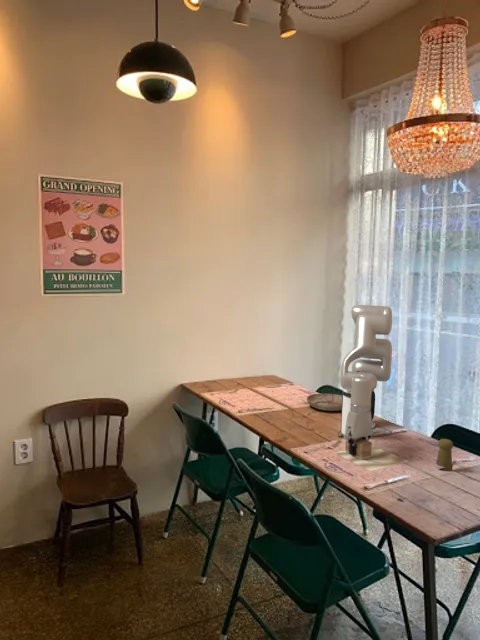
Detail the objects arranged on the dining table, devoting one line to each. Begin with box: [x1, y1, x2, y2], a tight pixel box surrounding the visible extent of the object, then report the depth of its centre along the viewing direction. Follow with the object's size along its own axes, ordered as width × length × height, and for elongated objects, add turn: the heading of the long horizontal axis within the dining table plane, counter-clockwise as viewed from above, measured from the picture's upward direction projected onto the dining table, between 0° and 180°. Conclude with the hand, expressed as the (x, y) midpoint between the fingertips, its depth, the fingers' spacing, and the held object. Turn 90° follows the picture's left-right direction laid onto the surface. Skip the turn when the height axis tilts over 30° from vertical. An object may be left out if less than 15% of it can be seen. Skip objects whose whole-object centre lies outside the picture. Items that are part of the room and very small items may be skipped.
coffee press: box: [337, 371, 376, 438], centre depth 219 cm, size 17×16×30 cm
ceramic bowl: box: [306, 392, 342, 412], centre depth 265 cm, size 23×24×5 cm
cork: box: [435, 438, 454, 472], centre depth 188 cm, size 6×6×11 cm
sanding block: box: [344, 438, 373, 460], centre depth 195 cm, size 9×5×6 cm, turn 30°
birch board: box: [334, 444, 410, 472], centre depth 194 cm, size 20×20×2 cm
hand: (357, 452), depth 195 cm, fingers closed on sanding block, 5 cm apart
